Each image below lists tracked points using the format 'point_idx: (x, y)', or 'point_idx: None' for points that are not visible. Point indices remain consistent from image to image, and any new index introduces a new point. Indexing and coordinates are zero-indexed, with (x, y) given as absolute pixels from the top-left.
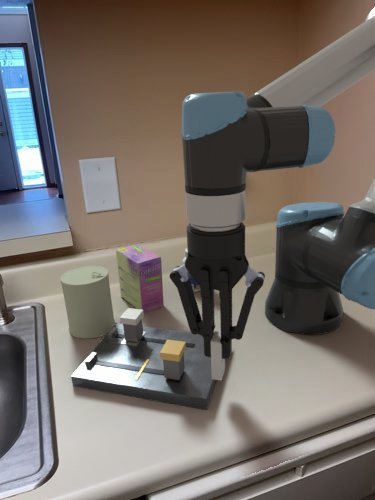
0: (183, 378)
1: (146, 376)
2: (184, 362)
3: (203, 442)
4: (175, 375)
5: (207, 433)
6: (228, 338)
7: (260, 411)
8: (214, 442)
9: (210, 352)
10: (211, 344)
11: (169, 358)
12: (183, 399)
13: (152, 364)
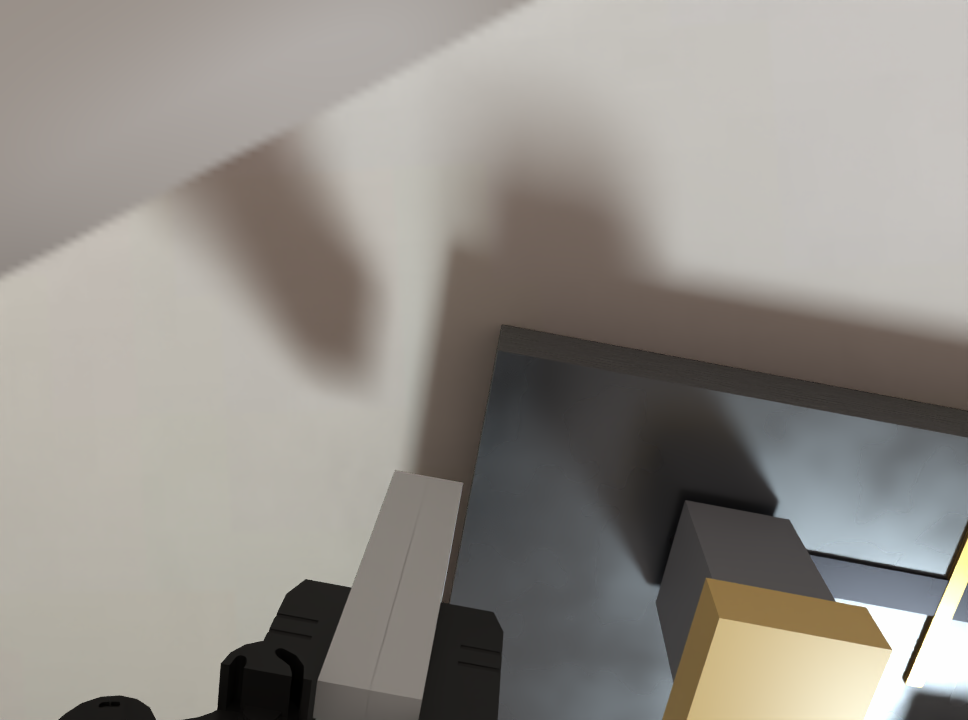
0: (658, 521)
1: (913, 537)
2: (659, 661)
3: (506, 78)
4: (717, 522)
5: (487, 147)
6: (224, 714)
7: (195, 327)
8: (442, 82)
9: (447, 632)
10: (418, 673)
11: (793, 605)
12: (647, 367)
13: None
